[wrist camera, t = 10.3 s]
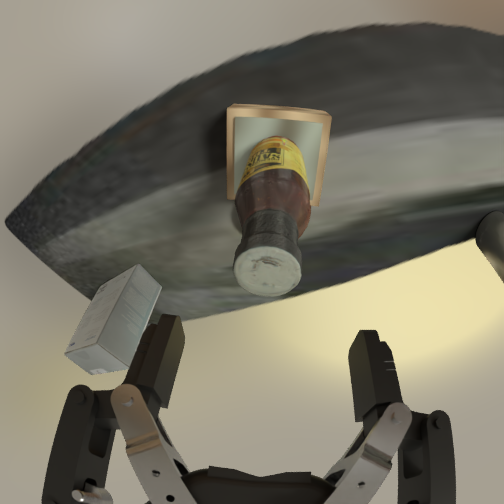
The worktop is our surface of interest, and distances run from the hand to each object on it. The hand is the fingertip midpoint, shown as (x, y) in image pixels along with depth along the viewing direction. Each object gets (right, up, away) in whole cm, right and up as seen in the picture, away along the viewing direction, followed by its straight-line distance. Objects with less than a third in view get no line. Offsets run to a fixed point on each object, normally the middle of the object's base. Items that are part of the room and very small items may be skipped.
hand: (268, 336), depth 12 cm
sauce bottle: (+2, +15, +20) cm, 25 cm away
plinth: (+3, +18, +24) cm, 30 cm away
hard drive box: (-27, -4, +43) cm, 51 cm away
